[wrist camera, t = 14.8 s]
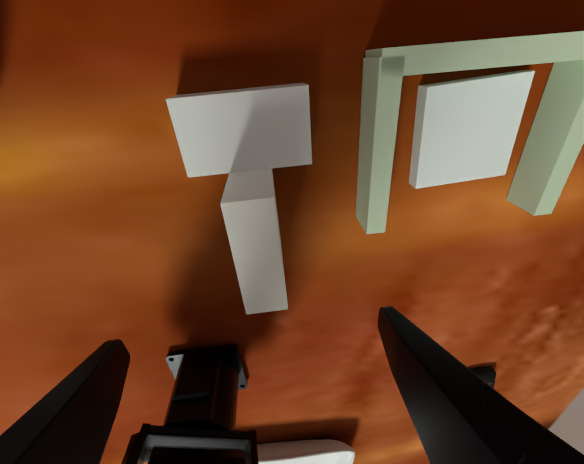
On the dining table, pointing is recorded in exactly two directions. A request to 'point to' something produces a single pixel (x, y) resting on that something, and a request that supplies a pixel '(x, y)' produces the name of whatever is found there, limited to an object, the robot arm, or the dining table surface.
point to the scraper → (247, 171)
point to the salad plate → (306, 452)
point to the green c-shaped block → (468, 56)
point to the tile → (467, 127)
